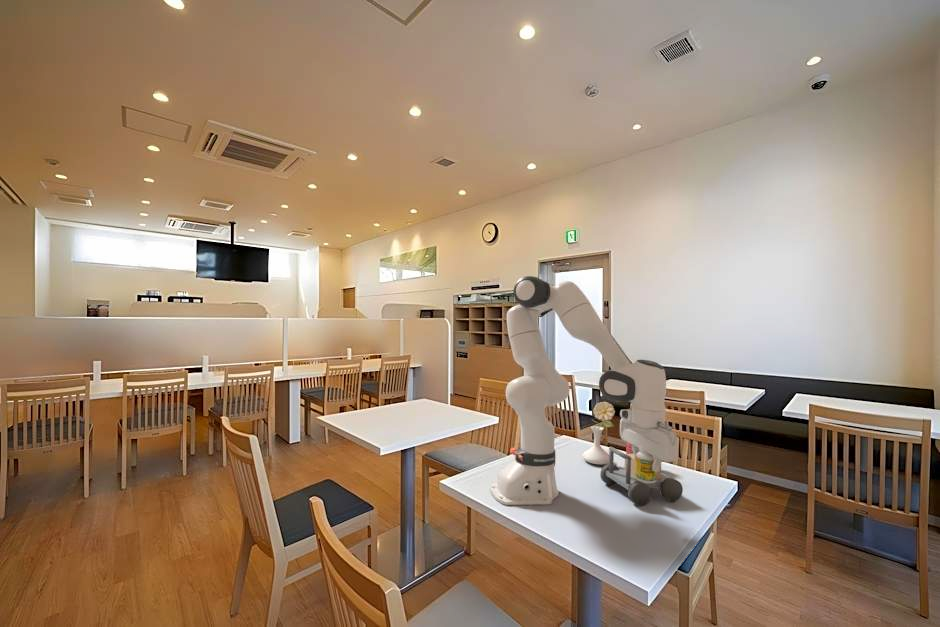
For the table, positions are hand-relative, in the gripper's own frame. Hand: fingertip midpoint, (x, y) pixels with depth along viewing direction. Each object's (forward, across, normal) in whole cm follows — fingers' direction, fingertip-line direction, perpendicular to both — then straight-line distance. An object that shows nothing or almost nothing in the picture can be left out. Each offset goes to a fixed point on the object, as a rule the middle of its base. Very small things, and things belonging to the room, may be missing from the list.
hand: (646, 466), depth 113 cm
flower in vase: (+17, +45, -14) cm, 50 cm away
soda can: (+17, +38, -26) cm, 49 cm away
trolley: (+17, +18, -12) cm, 27 cm away
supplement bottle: (+4, 0, 0) cm, 4 cm away
